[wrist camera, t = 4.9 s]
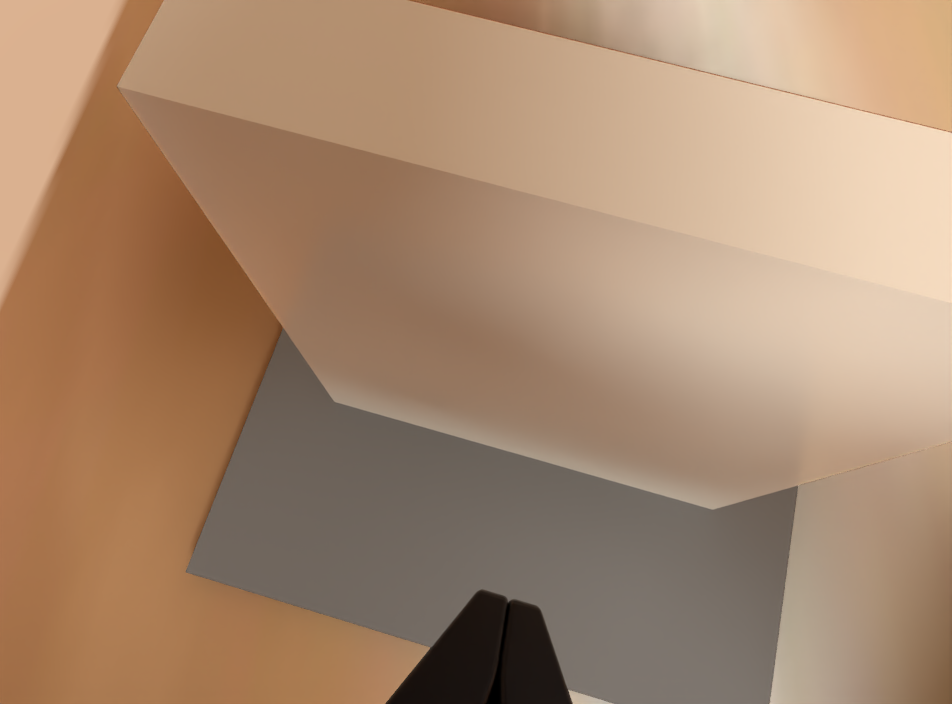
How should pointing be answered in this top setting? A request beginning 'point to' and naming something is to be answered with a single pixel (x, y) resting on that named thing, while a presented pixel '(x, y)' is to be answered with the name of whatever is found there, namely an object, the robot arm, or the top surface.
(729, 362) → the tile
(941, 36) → the top surface
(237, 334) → the top surface
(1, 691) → the top surface
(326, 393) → the mat
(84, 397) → the top surface
